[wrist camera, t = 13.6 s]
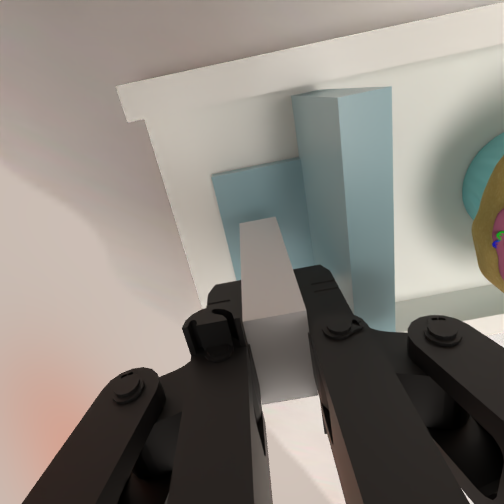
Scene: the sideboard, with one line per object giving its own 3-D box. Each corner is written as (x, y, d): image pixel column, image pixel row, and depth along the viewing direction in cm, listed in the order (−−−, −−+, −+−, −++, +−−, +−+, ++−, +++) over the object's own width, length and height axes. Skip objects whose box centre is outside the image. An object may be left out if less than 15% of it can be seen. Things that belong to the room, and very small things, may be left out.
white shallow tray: (139, 87, 15) (115, 86, 12) (752, -45, 14) (893, -83, 11) (216, 343, 20) (212, 384, 18) (646, 264, 19) (719, 294, 16)
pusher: (197, 115, 14) (165, 134, 8) (319, 89, 14) (391, 86, 8) (248, 326, 19) (255, 448, 12) (340, 309, 19) (396, 424, 12)
